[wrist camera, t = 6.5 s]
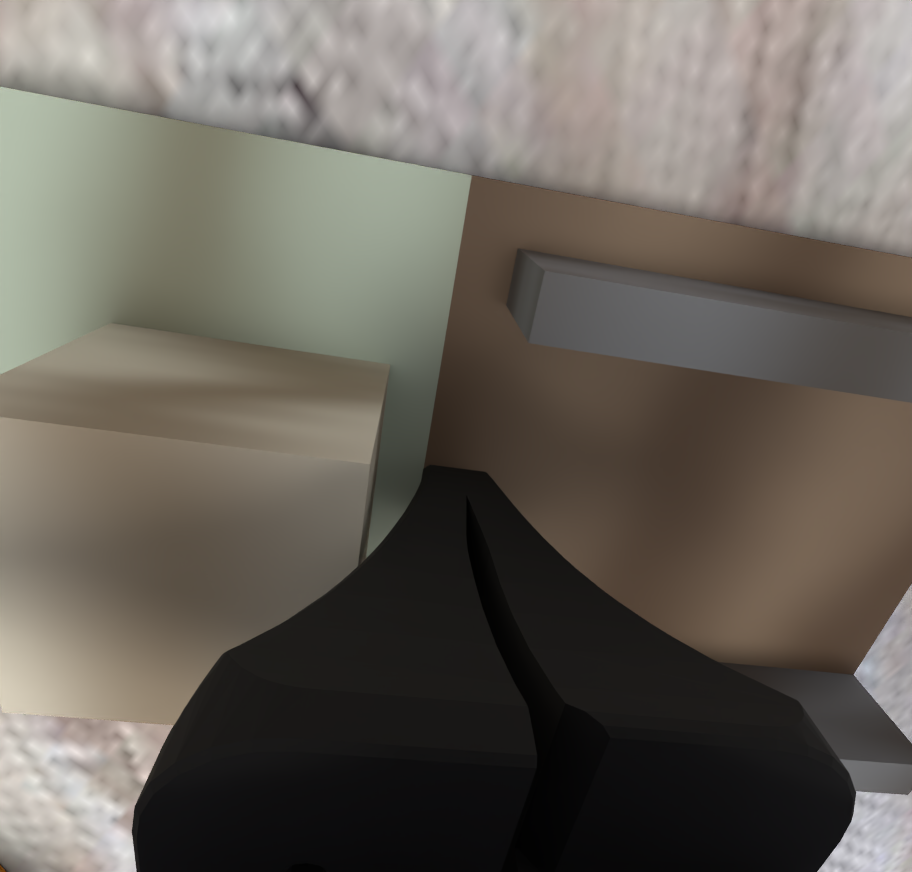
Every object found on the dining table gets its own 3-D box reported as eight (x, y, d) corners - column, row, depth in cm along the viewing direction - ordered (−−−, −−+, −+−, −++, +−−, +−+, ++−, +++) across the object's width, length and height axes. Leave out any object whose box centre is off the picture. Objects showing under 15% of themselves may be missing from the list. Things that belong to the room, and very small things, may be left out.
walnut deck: (999, 275, 12) (1280, 325, 8) (779, 668, 17) (886, 821, 13) (-784, -60, 9) (-1825, -259, 5) (-419, 555, 14) (-776, 716, 10)
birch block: (390, 364, 11) (370, 464, 7) (363, 575, 13) (337, 737, 9) (110, 323, 10) (-72, 407, 6) (130, 550, 12) (1, 712, 8)
